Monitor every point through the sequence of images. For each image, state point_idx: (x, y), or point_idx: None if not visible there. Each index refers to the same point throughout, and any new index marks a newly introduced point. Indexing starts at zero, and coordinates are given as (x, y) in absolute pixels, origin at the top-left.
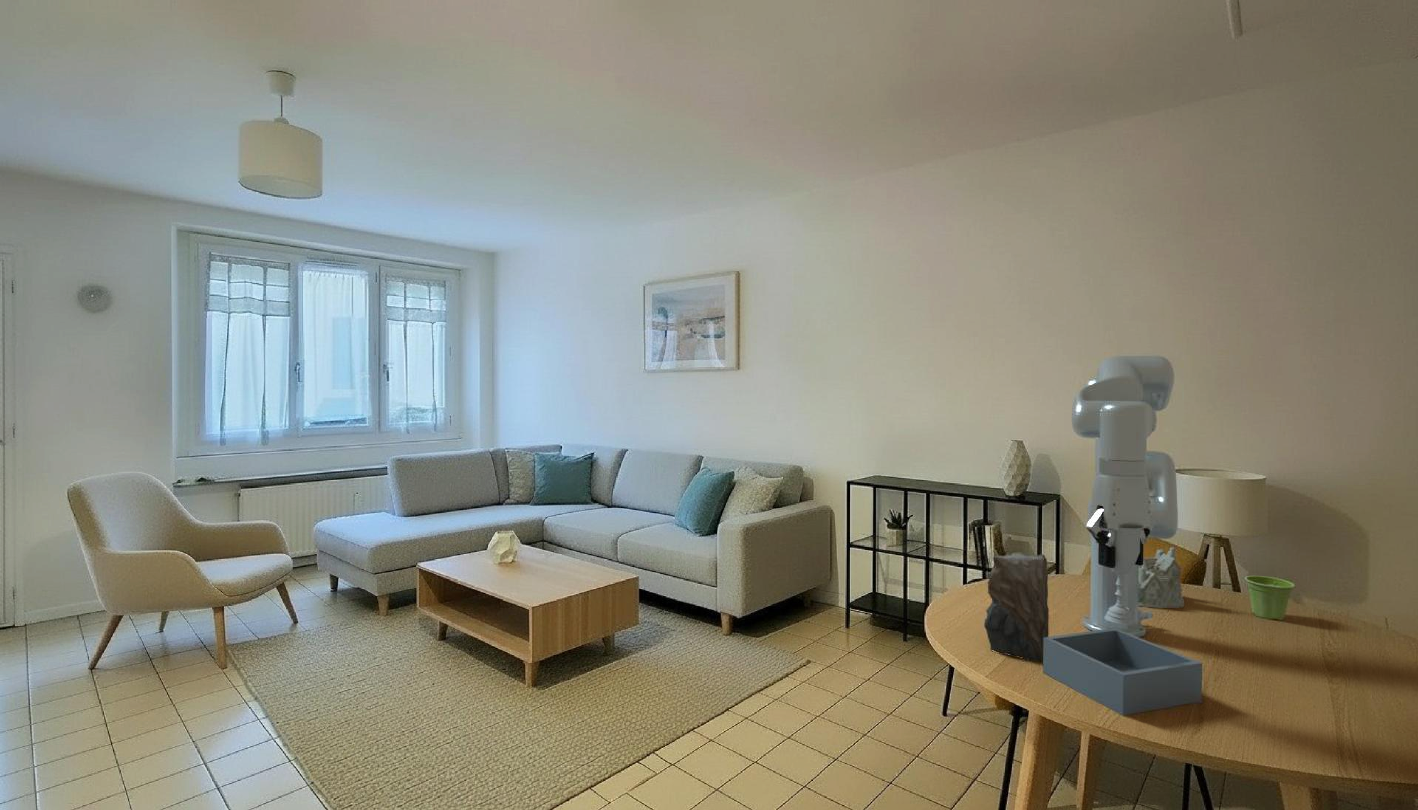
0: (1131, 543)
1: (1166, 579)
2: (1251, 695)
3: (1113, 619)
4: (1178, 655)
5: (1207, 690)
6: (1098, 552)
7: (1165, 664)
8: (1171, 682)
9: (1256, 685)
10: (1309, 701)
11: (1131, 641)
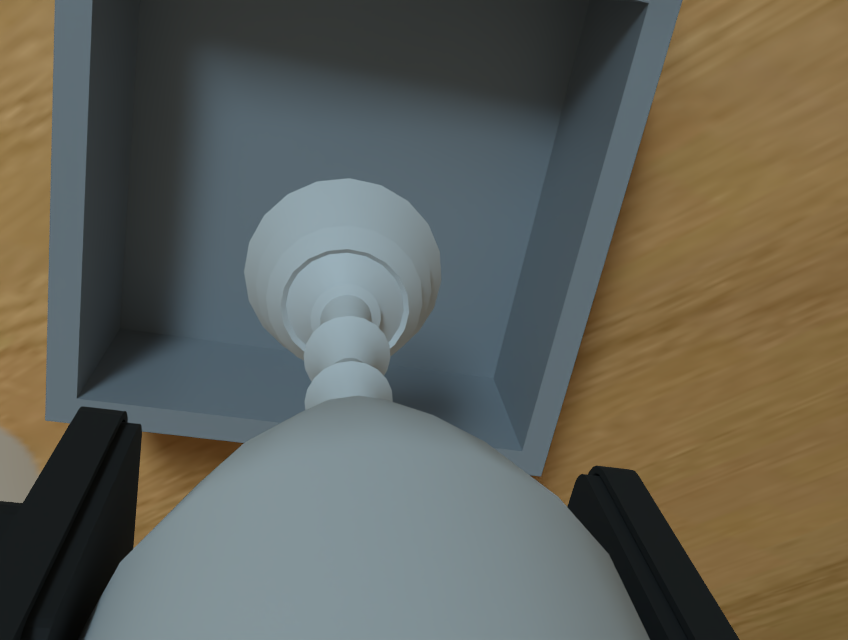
0: None
1: None
2: (719, 432)
3: (255, 291)
4: (542, 388)
5: (633, 347)
6: (24, 502)
7: (539, 299)
8: None
9: (835, 397)
10: (819, 524)
11: (606, 116)
